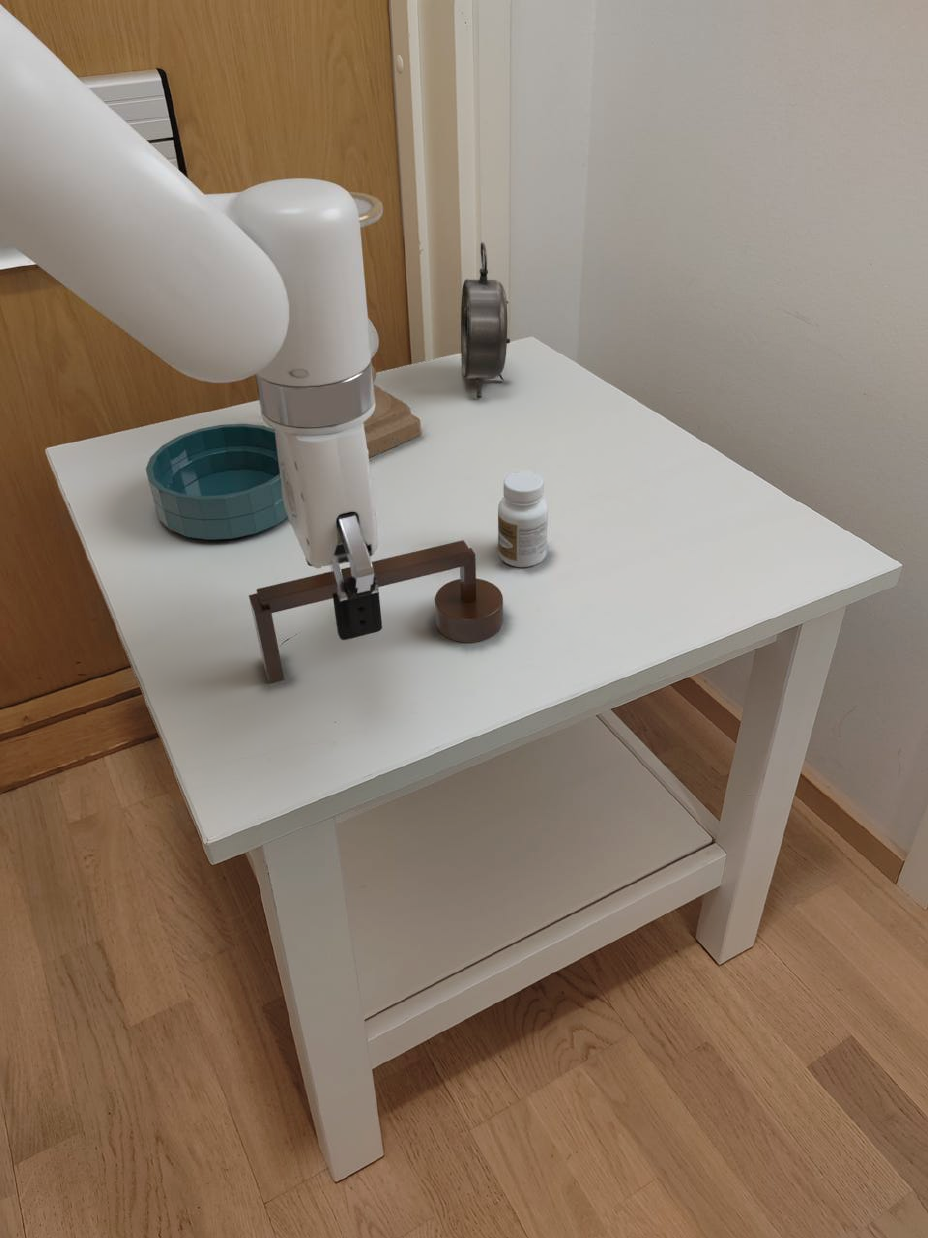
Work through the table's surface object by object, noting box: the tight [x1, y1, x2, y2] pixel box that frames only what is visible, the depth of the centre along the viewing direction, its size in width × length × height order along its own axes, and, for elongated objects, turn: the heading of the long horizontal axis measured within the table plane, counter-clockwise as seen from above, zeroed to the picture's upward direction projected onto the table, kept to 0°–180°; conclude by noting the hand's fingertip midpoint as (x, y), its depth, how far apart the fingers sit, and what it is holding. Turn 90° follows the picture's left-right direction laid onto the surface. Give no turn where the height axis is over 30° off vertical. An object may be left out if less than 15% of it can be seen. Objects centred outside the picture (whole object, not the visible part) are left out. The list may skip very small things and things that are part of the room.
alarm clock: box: [460, 241, 511, 399], centre depth 109 cm, size 11×5×16 cm, turn 3°
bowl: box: [145, 423, 288, 541], centre depth 93 cm, size 14×14×5 cm
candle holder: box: [348, 191, 422, 458], centre depth 97 cm, size 11×11×24 cm
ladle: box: [248, 539, 504, 684], centre depth 75 cm, size 20×6×8 cm, turn 111°
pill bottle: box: [497, 470, 549, 568], centre depth 84 cm, size 4×4×8 cm
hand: (342, 595), depth 73 cm, fingers open, 9 cm apart
